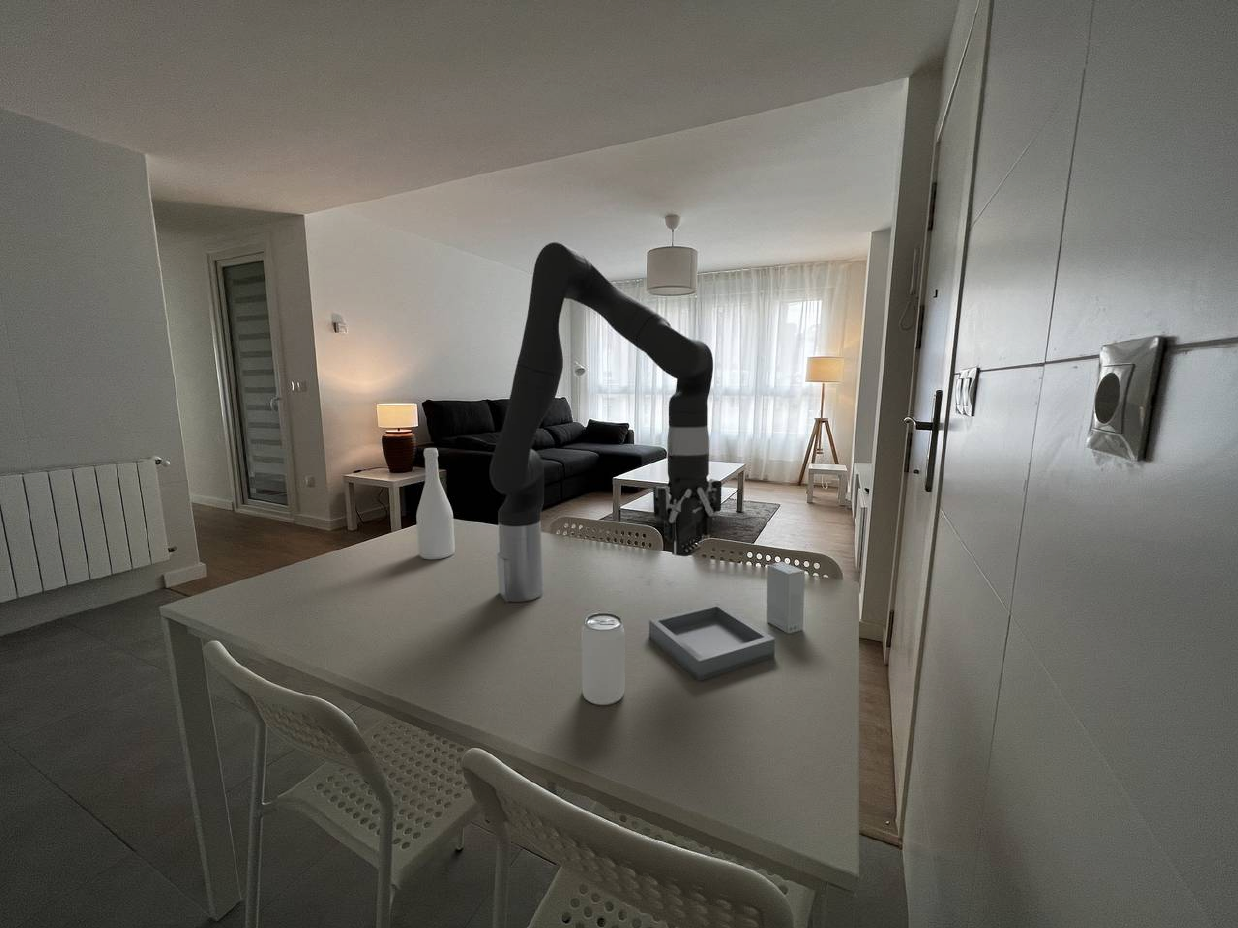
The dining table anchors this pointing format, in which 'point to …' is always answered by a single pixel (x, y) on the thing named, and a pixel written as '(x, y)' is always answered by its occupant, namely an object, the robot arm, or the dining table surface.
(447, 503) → the wine bottle
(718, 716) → the dining table surface
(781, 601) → the skincare box
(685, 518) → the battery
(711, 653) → the tray
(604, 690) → the can
